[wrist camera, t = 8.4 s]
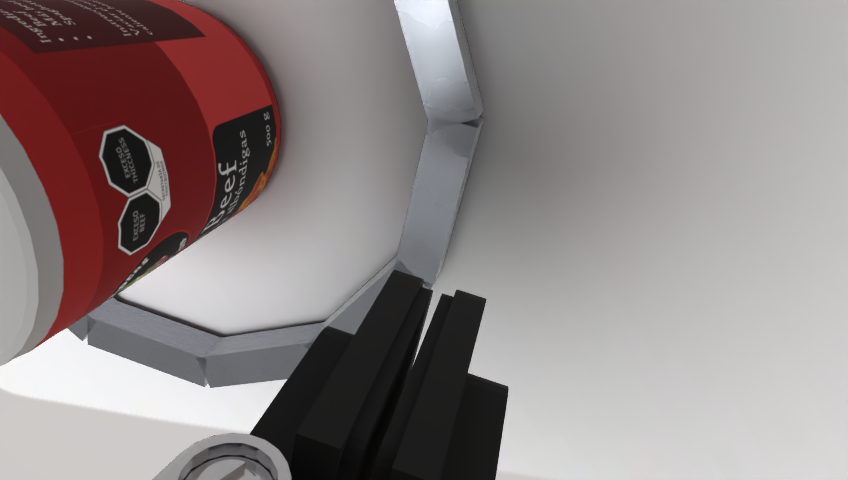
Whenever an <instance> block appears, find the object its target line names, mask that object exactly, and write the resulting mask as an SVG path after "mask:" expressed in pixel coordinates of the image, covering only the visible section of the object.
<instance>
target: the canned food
mask: <svg viewBox="0 0 848 480" xmlns="http://www.w3.org/2000/svg"><path fill="white" fill-rule="evenodd" d="M280 141H281V128H280V116H279V110H278V105H277V100H276V97H275V94H274V91H273V89H272V86H271V83H270V80H269V78H268V76H267V74H266V73H265V71H264V69H263V67H262V65H261V63H260V62H259V60H258V59H257V57H256V56H255V55H254V53H253V52H252V51H251V49H250V48H249V47H248V46H247V44H246V43H245V42H244V41H243V40H242V39H241V38H240V37H239V36H238V35H237V34H236V33H235V32H234V31H233V30H231V29H230V28H229V27H228V26H227V25H225V24H223V23H222V22H220V21H219V20H217V19H216V18H214V17H213V16H211V15H209V14H207V13H206V12H204V11H202V10H200V9H198V8H195V7H193V6H190V5H188V4H185V3H183V2H180V1H177V0H0V366H2V365H4V364H6V363H8V362H9V361H11V360H12V359H14V358H16V357H18V356H21V355H23V354H25V353H28V352H30V351H31V350H33V349H34V348H36V347H37V346H39V345H40V344H42V343H43V342H45V341H46V340H48V339H49V338H51V337H52V336H54V335H55V334H57V333H59V332H60V331H62V330H64V329H66V328H68V327H69V326H71V325H72V324H74V323H75V322H77V321H78V320H80V319H81V318H83V317H84V316H86V315H87V314H89V313H90V312H92V311H93V310H95V309H96V308H97V307H99V306H100V305H102V304H103V303H105V302H106V301H108V300H109V299H111V298H112V297H114V296H115V295H117V294H118V293H120V292H121V291H123V290H124V289H126V288H127V287H129V286H130V285H132V284H133V283H135V282H136V281H138V280H139V279H141V278H142V277H144V276H145V275H147V274H148V273H150V272H151V271H153V270H154V269H156V268H157V267H159V266H160V265H162V264H163V263H164V262H166V261H167V260H169V259H170V258H172V257H173V256H175V255H176V254H178V253H179V252H181V251H182V250H184V249H185V248H187V247H188V246H190V245H191V244H193V243H194V242H196V241H197V240H199V239H200V238H202V237H203V236H205V235H206V234H208V233H209V232H211V231H212V230H214V229H215V228H217V227H218V226H220V225H221V224H223V223H224V222H226V221H227V220H229V219H230V218H232V217H233V216H234V215H236V214H237V213H239V212H240V211H242V210H243V209H245V208H246V207H247V206H248V205H249V204H250V203H252V202H253V201H254V200H255V199H256V198H257V197H258V195H259V194H260V192H261V191H262V189H263V188H264V187H265V185H266V183H267V181H268V179H269V177H270V175H271V173H272V171H273V168H274V166H275V163H276V161H277V158H278V152H279V147H280Z"/></svg>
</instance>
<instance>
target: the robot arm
mask: <svg viewBox="0 0 848 480" xmlns="http://www.w3.org/2000/svg"><path fill="white" fill-rule="evenodd" d="M423 283H424V279H423V278H420V277H417V276H413V275H410V274H407V273H404V272H401V271H398V270H393V271H392V273H391V275H390V276H389V278H388V280H387V281H386V283H385V285H384V286H383V288H382V290H381V291H380V293H379V295H378V296H377V298H376V300H375V301H374V303H373V305H372V306H371V308H370V310H369V311H368V313H367V315H366V316H365V318H364V320H363V321H362V323H361V325H360V327H359V328H358V330H357V332H356V333H355V335H353V334H351V333H348V332H345V331H342V330H339V329H336V328H333V327H330V326H327V327H325V328H324V329H323V330H322V331H321V332H320V334H319V335H318V337H317V338H316V339H315V341H314V342H313V344H312V345H311V347H310V348H309V350H308V351H307V352H306V354H305V355H304V357H303V358H302V360H301V361H300V362H299V364H298V365H297V367H296V368H295V370H294V371H293V372H292V374H291V375H290V377H289V378H288V380H287V381H286V383H285V384H284V385H283V387H282V388H281V390H280V391H279V393H278V394H277V395H276V397H275V398H274V400H273V401H272V403H271V404H270V406H269V407H268V408H267V410H266V411H265V413H264V414H263V416H262V417H261V418H260V420H259V421H258V423H257V424H256V426H255V427H254V429H253V430H252V431H251V433H250V434H238V433H228V434H221V435H214V436H211V437H209V438H206V439H203V440H201V441H198V442H196V443H194V444H193V445H191V446H190V447H189V448H187V449H186V450H184V451H183V452H182V453H180V454H179V455H178V456H177V457H176V458H175V459H174V460H173V461H172V462H170V463H169V464H168V466H166V467H165V468H164V469H163V470H162V471H161V472H160V473H159V474H158V475H157V476H156V477H155V478H153V480H495V477H496V471H497V464H498V458H499V451H500V444H501V438H502V431H503V424H504V418H505V411H506V404H507V398H508V386H505V385H502V384H499V383H496V382H493V381H490V380H487V379H484V378H481V377H478V376H475V375H472V374H469V373H468V369H469V365H470V361H471V357H472V353H473V349H474V346H475V342H476V338H477V334H478V330H479V326H480V322H481V319H482V315H483V311H484V307H485V303H486V299H485V298H482V297H479V296H476V295H473V294H469V293H466V292H463V291H460V290H456V292H455V295H454V297H452V296H449V295H445V294H442V295H441V298H440V300H439V303H438V305H437V308H436V310H435V313H434V315H433V318H432V320H431V322H430V325H429V327H428V330H427V332H426V335H425V337H424V340H423V342H422V345H421V347H420V350H419V352H418V355H417V357H416V360H415V362H414V359H415V355H416V352H417V348H418V344H419V341H420V337H421V334H422V330H423V326H424V323H425V319H426V316H427V312H428V308H429V305H430V301H431V297H432V293H433V290H430V289H427V288H424V287H423ZM413 363H414V365H413ZM412 366H413V367H412Z"/></svg>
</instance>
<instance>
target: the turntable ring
mask: <svg viewBox="0 0 848 480" xmlns="http://www.w3.org/2000/svg"><path fill="white" fill-rule="evenodd" d="M394 3H395V6H396V10H397V13H398V17H399V20H400V24H401V27H402V31H403V34H404V38H405V42H406V45H407V49H408V52H409V56H410V59H411V63H412V66H413V70H414V73H415V77H416V80H417V84H418V88H419V91H420V95H421V98H422V102H423V105H424V109H425V112H426V116H427V119H428V126H427V131H426V135H425V139H424V143H423V147H422V152H421V156H420V160H419V164H418V168H417V173H416V177H415V181H414V185H413V189H412V193H411V198H410V202H409V206H408V210H407V214H406V219H405V223H404V227H403V231H402V235H401V240H400V244H399V248H398V252H397V256H396V257H395V258H394V259H392V260H391V261H390V262H389V263H388V264H387V265H386V266H385V267H384V268H383V269H382V270H380V271H379V272H378V273H377V274H376V275H375V276H374V277H373V278H372V279H371V280H369V281H368V282H367V283H366V284H365V285H364V286H363V287H362V288H361V289H360V290H359V291H357V292H356V293H355V294H354V295H353V296H352V297H351V298H350V299H349V300H348V301H347V302H345V303H344V304H343V305H342V306H341V307H340V308H339V309H338V310H337V311H336V312H335V313H333V314H332V315H331V316H330V317H329V318H328V319H327V320H326V321H325V322H323V323H316V324H309V325H303V326H296V327H289V328H283V329H276V330H269V331H262V332H256V333H249V334H242V335H235V336H229V337H222V338H221V337H218V336H215V335H212V334H209V333H207V332H204V331H201V330H198V329H195V328H192V327H190V326H187V325H184V324H181V323H178V322H175V321H173V320H170V319H167V318H164V317H161V316H158V315H156V314H153V313H150V312H147V311H144V310H141V309H139V308H136V307H133V306H130V305H127V304H124V303H122V302H119V301H117V300H116V299H115V298H113V297H112V298H111V299H109V300H108V301H106V302H105V303H103V304H102V305H100V306H99V307H97V308H96V309H95V310H93V311H92V312H90V313H89V314H87V315H86V316H84V317H83V318H81V319H80V320H78V321H77V322H75V323H74V324H72V325H71V326H69V327H68V329H69V330H70V331H71V332H72V333H74V334H75V335H76V336H77V337H78V338H79V339H81V340H82V341H83V340H84V339H86V338H87V337H88V345H91V346H94V347H96V348H99V349H102V350H105V351H107V352H110V353H113V354H116V355H118V356H121V357H124V358H127V359H129V360H132V361H135V362H137V363H140V364H143V365H146V366H148V367H151V368H154V369H157V370H159V371H162V372H165V373H168V374H170V375H173V376H176V377H179V378H181V379H184V380H187V381H190V382H192V383H195V384H198V385H201V386H203V387H205V386H206V385H207V384H209V386H210V388H213V387H222V386H230V385H239V384H248V383H256V382H265V381H274V380H282V379H288V378H289V377H290V375H291V374H292V372H293V371H294V370H295V368H296V367H297V365H298V364H299V362H300V361H301V360H302V358H303V357H304V355H305V354H306V352H307V351H308V350H309V348H310V347H311V345H312V344H313V342H314V341H315V339H316V338H317V337H318V335H319V334H320V332H321V331H322V330H323V329H324V328H325V327H327V326H330V327H333V328H336V329H339V330H342V331H345V332H348V333H351V334H353V335H355V333H356V332H357V330H358V328H359V327H360V325H361V323H362V321H363V320H364V318H365V316H366V315H367V313H368V311H369V310H370V308H371V306H372V305H373V303H374V301H375V300H376V298H377V296H378V295H379V293H380V291H381V290H382V288H383V286H384V285H385V283H386V281H387V280H388V278H389V276H390V275H391V273H392V271H393V270H398V271H401V272H404V273H407V274H410V275H413V276H417V277H420V278H423V279H424V283H423V287H424V288H427V289H431V287H432V285H433V284H434V283H435V281H436V279H437V277H438V275H439V272H440V270H441V268H442V266H443V263H444V259H445V256H446V252H447V249H448V245H449V241H450V238H451V234H452V231H453V227H454V224H455V220H456V217H457V213H458V210H459V206H460V202H461V199H462V195H463V192H464V188H465V185H466V181H467V178H468V174H469V171H470V167H471V163H472V160H473V156H474V153H475V149H476V146H477V142H478V139H479V135H480V132H481V128H482V124H483V121H484V119H483V118H480V117H479V116H480V115H481V114H482V112H483V111H484V107H483V103H482V99H481V95H480V91H479V87H478V83H477V79H476V75H475V71H474V67H473V63H472V59H471V55H470V51H469V47H468V43H467V39H466V35H465V31H464V27H463V23H462V19H461V15H460V11H459V6H458V2H457V0H394Z"/></svg>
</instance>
